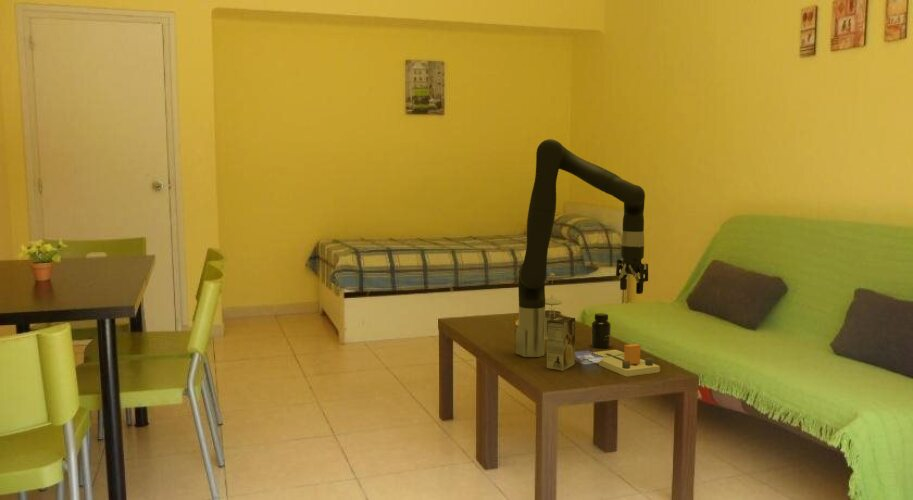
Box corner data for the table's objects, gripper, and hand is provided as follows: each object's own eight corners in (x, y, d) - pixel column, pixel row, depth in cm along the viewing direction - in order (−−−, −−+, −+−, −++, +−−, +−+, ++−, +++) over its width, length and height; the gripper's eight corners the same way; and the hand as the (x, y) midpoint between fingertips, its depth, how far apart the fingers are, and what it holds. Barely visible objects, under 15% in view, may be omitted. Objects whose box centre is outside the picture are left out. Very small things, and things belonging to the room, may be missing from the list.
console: (626, 376, 244) (626, 364, 244) (584, 359, 266) (584, 347, 266) (659, 372, 250) (660, 360, 249) (615, 355, 271) (616, 344, 271)
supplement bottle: (610, 349, 280) (610, 316, 279) (590, 348, 282) (591, 315, 280) (610, 344, 287) (610, 312, 286) (591, 343, 288) (592, 312, 287)
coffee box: (557, 362, 262) (558, 315, 260) (575, 364, 259) (576, 317, 257) (546, 368, 255) (546, 320, 253) (563, 371, 251) (564, 322, 249)
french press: (563, 334, 304) (564, 271, 301) (564, 341, 293) (565, 275, 290) (538, 333, 305) (539, 271, 302) (538, 340, 294) (539, 275, 291)
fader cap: (628, 364, 250) (629, 346, 249) (624, 363, 253) (624, 344, 252) (639, 363, 252) (640, 345, 251) (635, 361, 254) (635, 343, 254)
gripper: (610, 242, 266) (609, 289, 268) (637, 247, 253) (635, 295, 255) (628, 241, 269) (627, 287, 271) (655, 246, 256) (653, 294, 258)
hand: (631, 291), depth 263 cm, fingers open, 8 cm apart
